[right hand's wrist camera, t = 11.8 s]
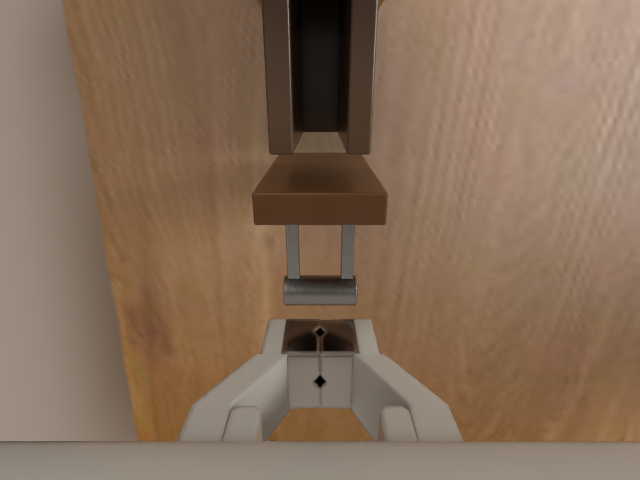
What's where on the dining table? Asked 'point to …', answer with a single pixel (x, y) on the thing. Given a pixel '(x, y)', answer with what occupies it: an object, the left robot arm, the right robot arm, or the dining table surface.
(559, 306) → the dining table surface
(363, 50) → the drawer
